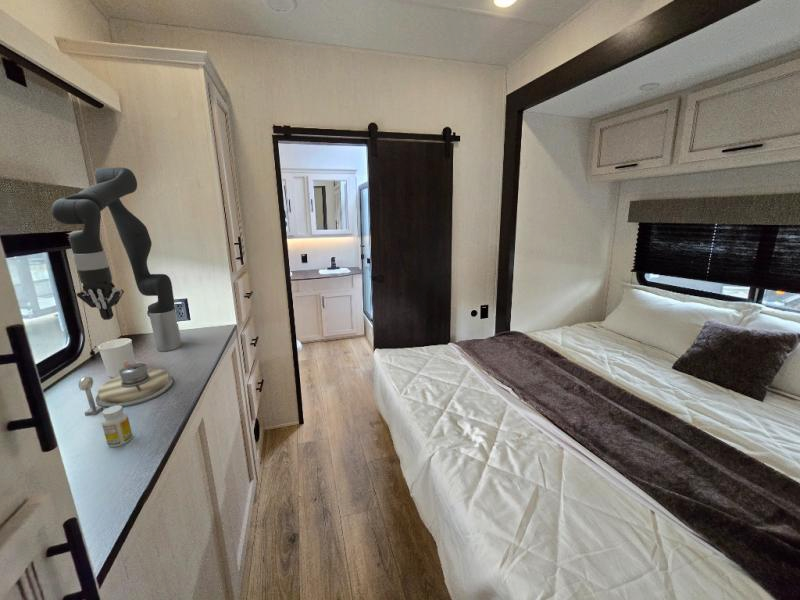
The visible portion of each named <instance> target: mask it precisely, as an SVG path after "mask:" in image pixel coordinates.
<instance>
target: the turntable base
mask: <svg viewBox="0 0 800 600" xmlns="http://www.w3.org/2000/svg"><path fill="white" fill-rule="evenodd" d="M168 377H169V381H168V383H167V384H166V385H165V386H164V387H163V388H162V389H160V390H158V391H156V392H154V393H152V394H150V395H148V396H145V397H142V398H139V399H136V400H132V401H127V402H120V403H107V402H103V401H101V400H100V398H99V395H98V394H97V396H95V402H96V405H97V407H98V406H103V409H107V408H109V407H112V406H117V405H119V406H122V408H127V407H131V406H136V405H140V404H143V403H146V402H148V401H151V400H153V399H155V398H158V397H160V396H161V395H162V394H164V393H166V392H168V391H169V389H170V388H171V387H172V386H173V383H174V381H173V380H174V379H173V377H172V376H171V375H170V374H168Z"/></svg>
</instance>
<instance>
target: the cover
mask: <svg viewBox="0 0 800 600" xmlns="http://www.w3.org/2000/svg"><path fill="white" fill-rule="evenodd" d="M147 369H148V367H147V364H146V363H135V364H133V365H129V366H126V367H124V368H122V369H121V370H120V371H119V373H120V376H121V380H122V382H121V385H122V387H125V388H129V387H135V386H139V385H142V384H144V383H146V382H148V381H149V380H150V376H149V375H148V372H147Z"/></svg>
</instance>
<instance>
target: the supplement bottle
mask: <svg viewBox="0 0 800 600" xmlns="http://www.w3.org/2000/svg"><path fill="white" fill-rule="evenodd" d="M123 408H124V407H122V406H119V405H117V406H112V407H109V408H104V409H103V410H102V416H103V419H102V420H101V426H102V427H101V428H102V430H103V434H104V436H105V440H106V441H105V442H106V445H107V446H108V447H110V448H111V447H112V448H116V447H119V446H123V445H125V444H127V443H129V442H130V441H131V440H132V438H133V431H132V427H131V425H130V421H129V420H130V419H129V416H128V414H127V412H126V411H124V409H123Z"/></svg>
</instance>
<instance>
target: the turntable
mask: <svg viewBox="0 0 800 600" xmlns="http://www.w3.org/2000/svg"><path fill="white" fill-rule="evenodd" d="M129 365H130V363H129V362H128V361H125V362H124V366H125V367H126V366H129ZM147 372H148V375H149V376H150V380H149V381H148V382H146V383H144V384H142V385H139V386H135V387H129V388H125V387H122V385H121V382H122V380H121V376H119V377H116V378H113V379H110V380H109V381H107V382H105V383H103V384H102V385H101V386H100V387H99V388H98V390H97V395H99V398H100V400H101V401H103V402H107V403H120V402H127V401H132V400H136V399H139V398H142V397H145V396H148V395H150V394H152V393H154V392H156V391H158V390H160V389H162V388H163V387H164V386H165V385H166V384H167V383H168V381H169V377H168V375H169V374H168V371H167V370H164V369H160V368H150V369H149V368H147Z"/></svg>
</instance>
